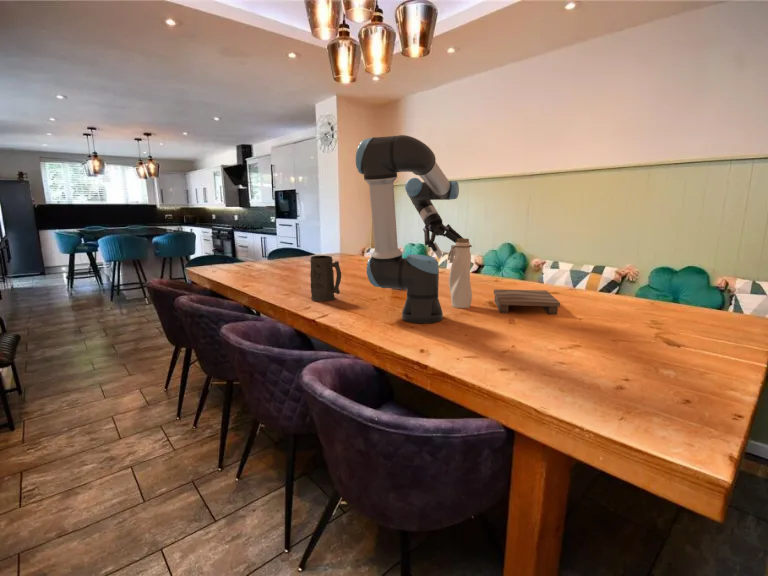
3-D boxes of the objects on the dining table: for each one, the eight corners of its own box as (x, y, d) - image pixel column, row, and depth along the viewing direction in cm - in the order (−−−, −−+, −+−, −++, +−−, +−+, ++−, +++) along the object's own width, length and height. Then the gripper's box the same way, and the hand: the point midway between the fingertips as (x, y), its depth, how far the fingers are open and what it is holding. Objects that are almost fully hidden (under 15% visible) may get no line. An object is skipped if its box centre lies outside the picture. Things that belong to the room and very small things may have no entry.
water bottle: (445, 308, 159) (447, 239, 154) (447, 302, 168) (449, 238, 162) (471, 309, 157) (473, 240, 151) (471, 304, 166) (474, 238, 160)
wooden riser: (559, 315, 147) (560, 302, 146) (499, 313, 150) (499, 301, 149) (545, 301, 168) (546, 290, 167) (493, 300, 172) (493, 289, 170)
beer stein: (305, 300, 175) (305, 256, 170) (316, 295, 185) (316, 253, 180) (336, 305, 170) (338, 260, 166) (346, 299, 180) (347, 257, 176)
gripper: (448, 223, 182) (469, 258, 173) (405, 225, 169) (425, 263, 160) (456, 212, 177) (479, 247, 167) (412, 212, 164) (434, 251, 155)
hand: (453, 255), depth 164 cm, fingers open, 13 cm apart
